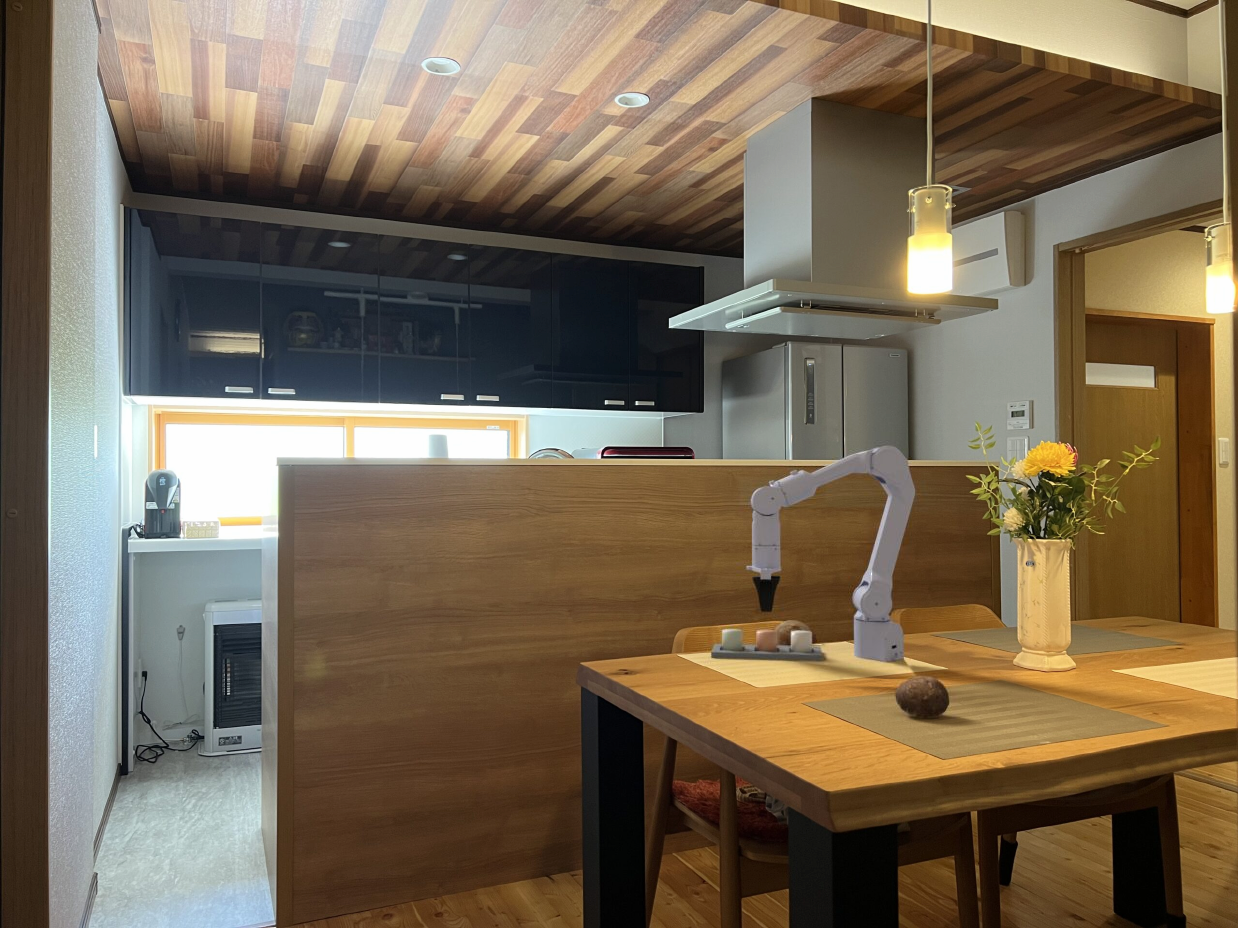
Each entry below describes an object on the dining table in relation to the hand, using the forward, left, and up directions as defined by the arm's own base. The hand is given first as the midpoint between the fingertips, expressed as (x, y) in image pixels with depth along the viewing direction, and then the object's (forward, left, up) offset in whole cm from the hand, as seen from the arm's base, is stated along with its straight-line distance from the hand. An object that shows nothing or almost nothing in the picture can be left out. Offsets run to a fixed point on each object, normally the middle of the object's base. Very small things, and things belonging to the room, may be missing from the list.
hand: (766, 611), depth 193 cm
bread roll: (+8, -17, -11) cm, 22 cm away
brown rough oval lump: (-47, +11, -10) cm, 49 cm away
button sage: (+5, +5, -9) cm, 11 cm away
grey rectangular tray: (0, 0, -10) cm, 10 cm away
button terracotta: (0, 0, -9) cm, 9 cm away
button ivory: (-5, -5, -9) cm, 11 cm away
